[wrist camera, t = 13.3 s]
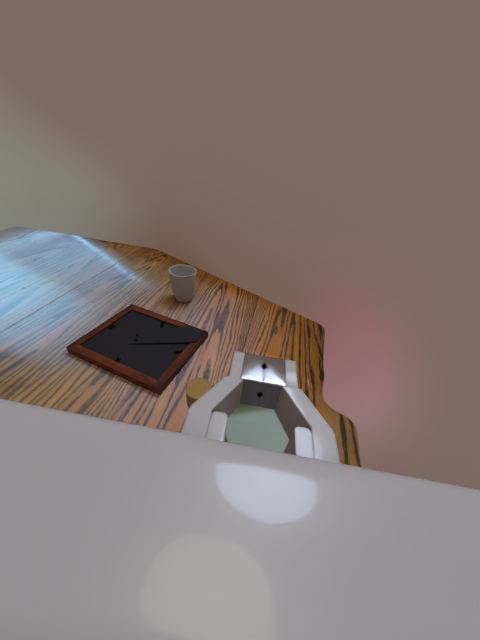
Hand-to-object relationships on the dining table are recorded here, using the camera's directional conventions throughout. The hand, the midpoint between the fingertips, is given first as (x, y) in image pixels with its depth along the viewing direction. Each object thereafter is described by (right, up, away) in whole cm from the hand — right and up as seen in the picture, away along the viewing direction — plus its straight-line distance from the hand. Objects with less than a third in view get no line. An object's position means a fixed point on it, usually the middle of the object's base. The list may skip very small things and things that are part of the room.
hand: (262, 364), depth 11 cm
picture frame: (-25, -4, +45) cm, 52 cm away
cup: (-19, +9, +63) cm, 67 cm away
